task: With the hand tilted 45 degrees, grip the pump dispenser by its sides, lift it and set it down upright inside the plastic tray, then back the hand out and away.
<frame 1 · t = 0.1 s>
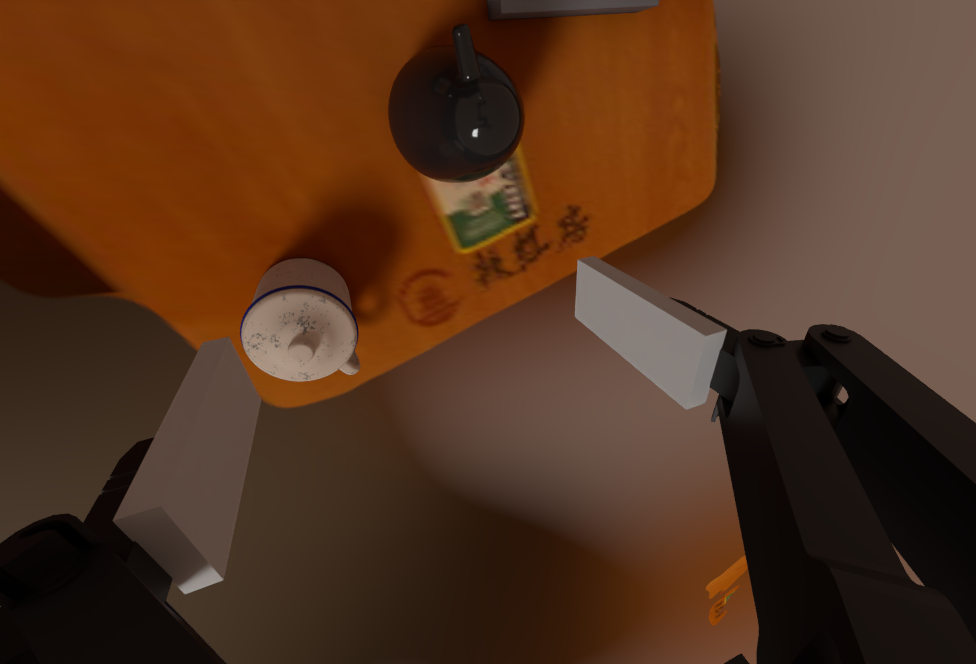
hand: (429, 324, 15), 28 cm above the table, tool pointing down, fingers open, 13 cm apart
teacup with lid: (315, 306, 41), on the table
pump dispenser: (436, 117, 37), on the table
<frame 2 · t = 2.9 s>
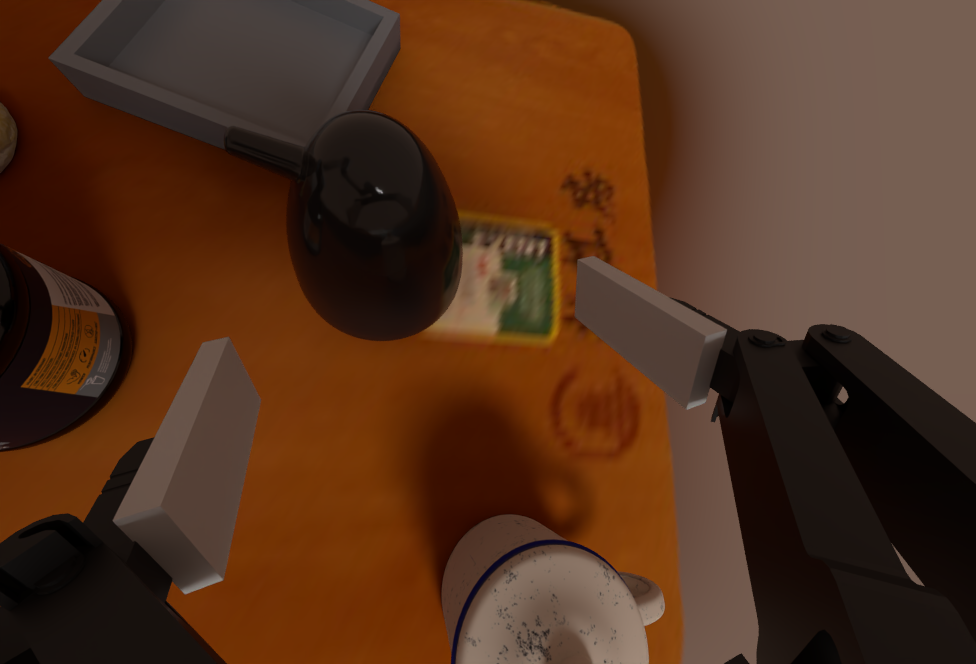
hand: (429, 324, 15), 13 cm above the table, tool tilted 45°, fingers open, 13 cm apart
supplement container: (43, 362, 24), on the table
teacup with lid: (527, 579, 26), on the table
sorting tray: (259, 69, 32), on the table
pump dispenser: (384, 287, 29), on the table
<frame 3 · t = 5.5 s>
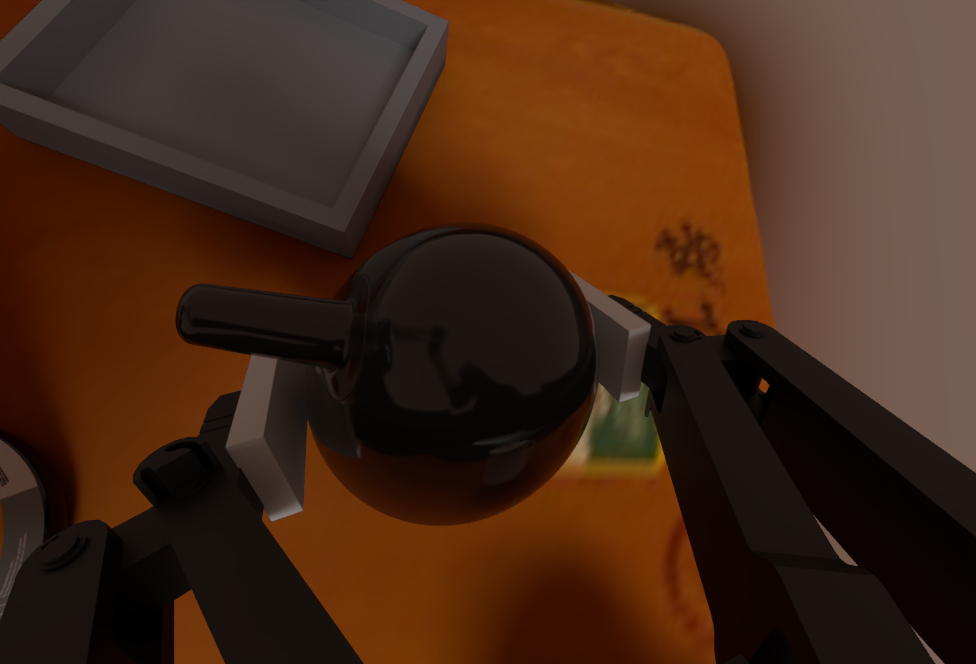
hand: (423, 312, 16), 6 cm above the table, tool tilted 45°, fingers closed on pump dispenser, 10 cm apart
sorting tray: (261, 95, 24), on the table
pump dispenser: (433, 401, 21), on the table, touching gripper
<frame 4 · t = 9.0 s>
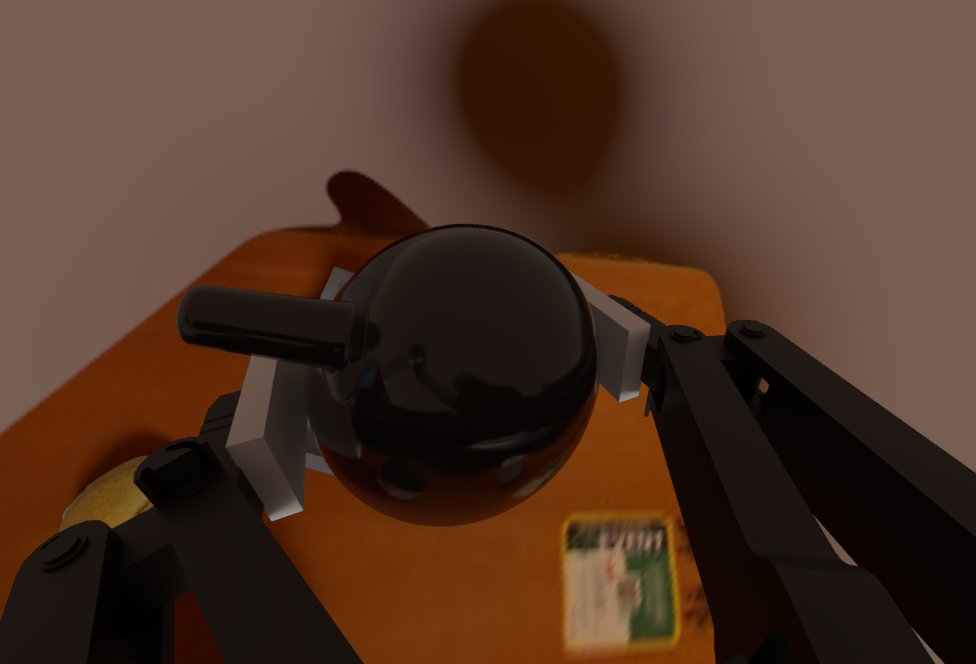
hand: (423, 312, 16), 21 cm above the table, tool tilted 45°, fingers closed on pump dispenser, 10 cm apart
bread roll: (153, 517, 29), on the table
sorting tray: (403, 389, 35), on the table
pump dispenser: (433, 401, 21), point 15 cm above the table, touching gripper
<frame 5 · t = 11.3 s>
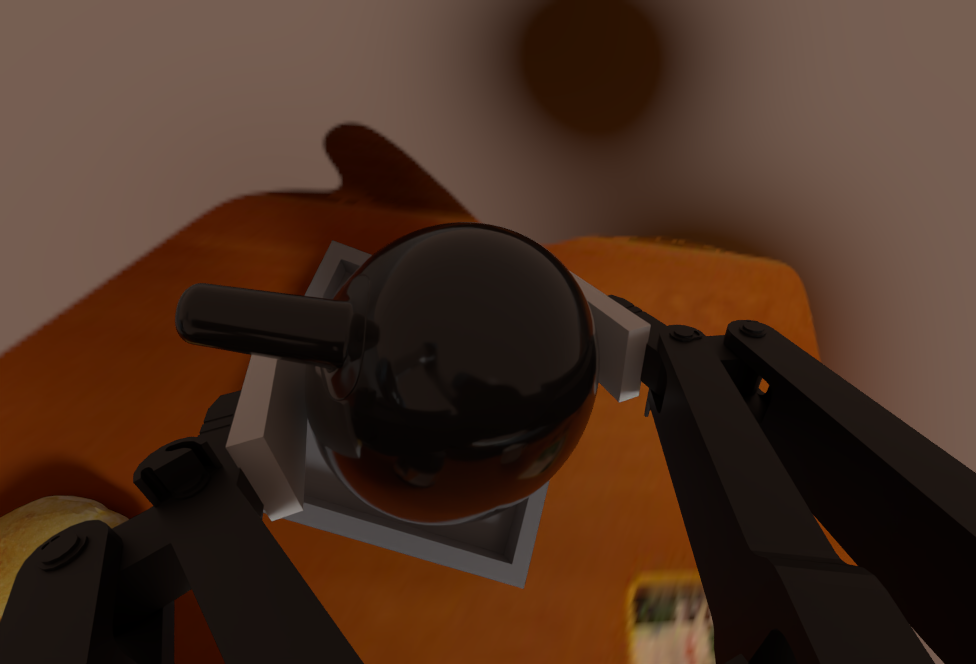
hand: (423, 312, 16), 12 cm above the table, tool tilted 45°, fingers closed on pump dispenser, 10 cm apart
bread roll: (64, 583, 21), on the table
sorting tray: (419, 406, 26), on the table
pump dispenser: (433, 401, 21), point 6 cm above the table, touching gripper
when the fingers open (8 cm above the table, at t = 12.8 s): pump dispenser drops 1 cm, resting on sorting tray.
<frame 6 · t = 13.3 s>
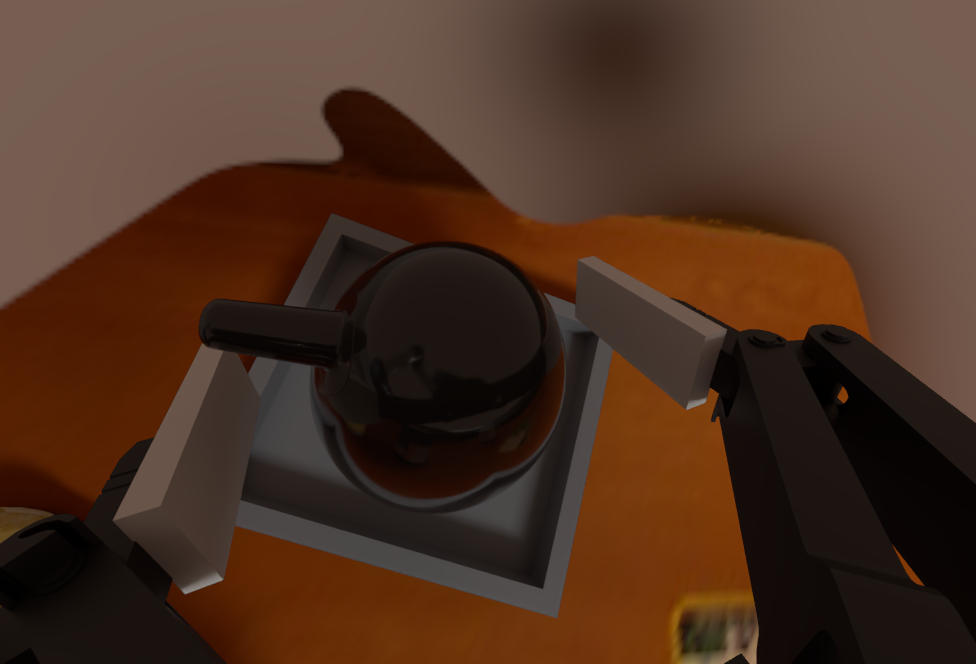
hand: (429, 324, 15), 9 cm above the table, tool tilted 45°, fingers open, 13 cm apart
bread roll: (13, 610, 17), on the table
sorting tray: (432, 404, 23), on the table
pump dispenser: (432, 402, 22), point 1 cm above the table, touching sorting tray
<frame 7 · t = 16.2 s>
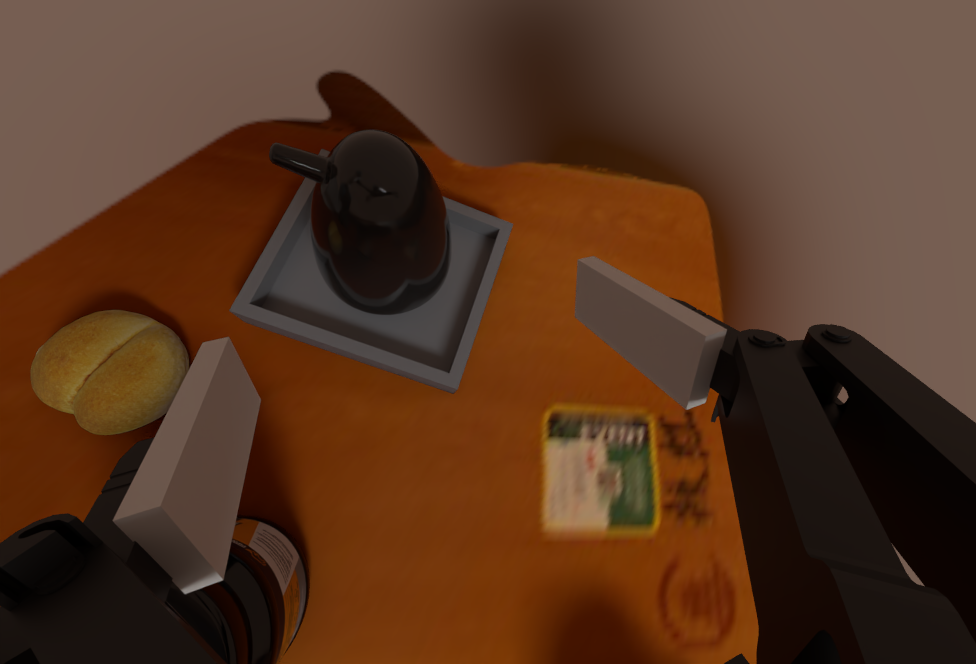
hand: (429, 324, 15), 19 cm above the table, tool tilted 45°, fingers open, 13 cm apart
bread roll: (128, 373, 29), on the table
supplement container: (234, 593, 27), on the table
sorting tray: (388, 277, 35), on the table
pump dispenser: (387, 273, 34), point 1 cm above the table, touching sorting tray
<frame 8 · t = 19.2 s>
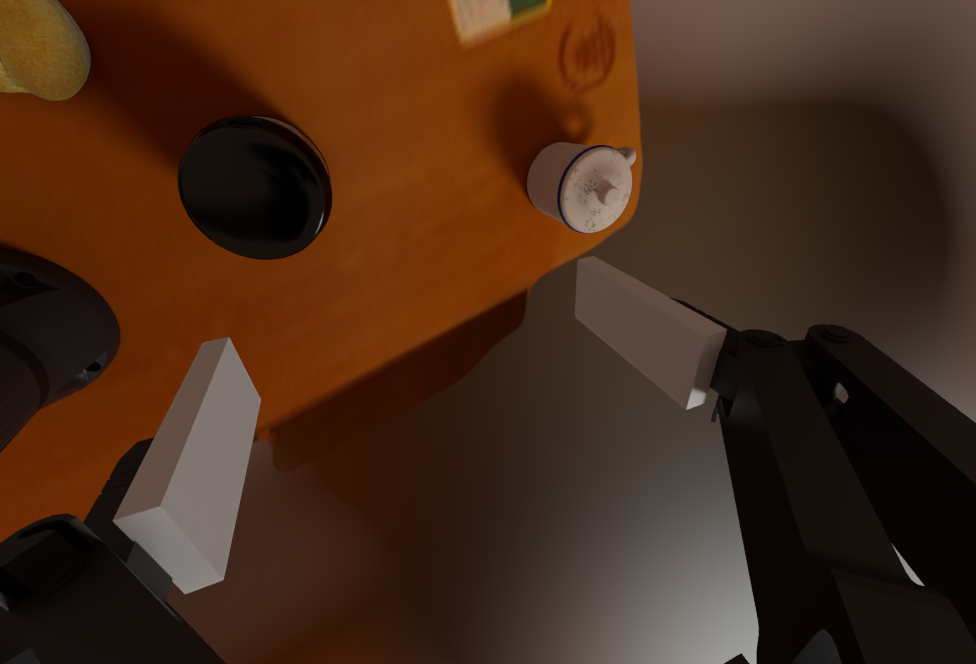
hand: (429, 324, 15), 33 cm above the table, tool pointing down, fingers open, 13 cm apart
bread roll: (12, 34, 29), on the table
supplement container: (273, 175, 38), on the table
teacup with lid: (565, 172, 49), on the table
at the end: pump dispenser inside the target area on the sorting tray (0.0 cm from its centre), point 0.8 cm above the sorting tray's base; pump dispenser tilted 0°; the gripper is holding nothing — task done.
